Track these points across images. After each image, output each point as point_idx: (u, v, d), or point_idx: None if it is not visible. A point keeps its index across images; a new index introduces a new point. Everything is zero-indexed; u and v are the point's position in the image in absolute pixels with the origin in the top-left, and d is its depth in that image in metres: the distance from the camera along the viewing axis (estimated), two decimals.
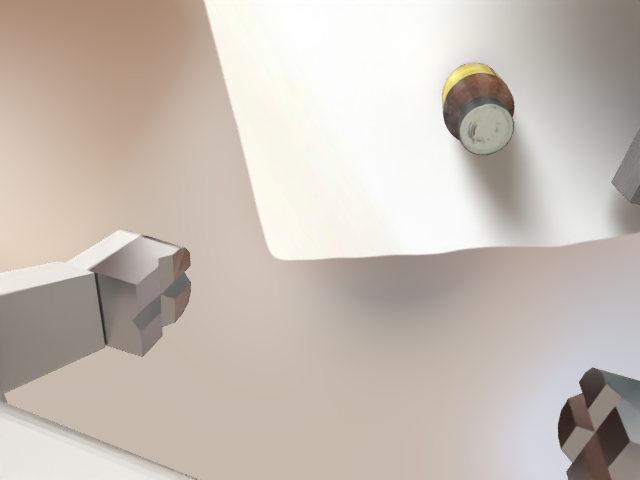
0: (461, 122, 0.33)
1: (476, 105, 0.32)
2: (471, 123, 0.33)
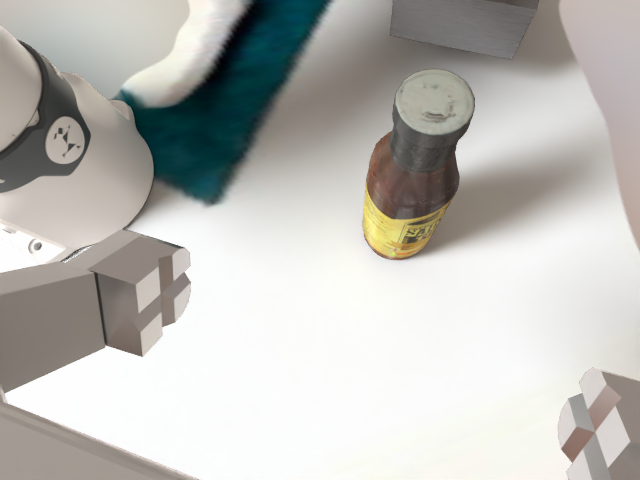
0: (421, 133, 0.21)
1: (397, 118, 0.21)
2: (424, 119, 0.21)
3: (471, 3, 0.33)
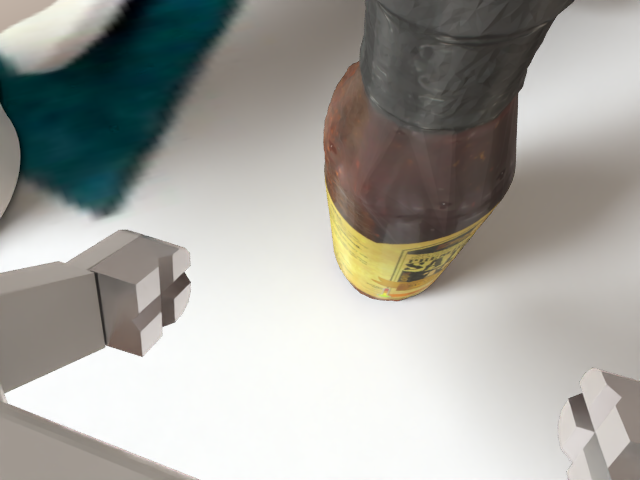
0: None
1: None
2: None
3: None
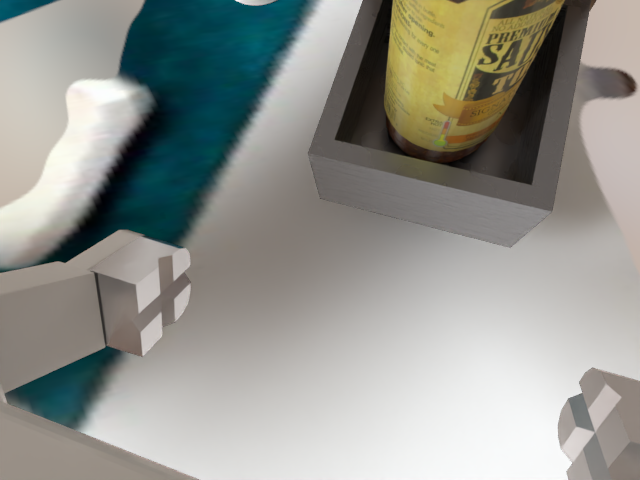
0: None
1: None
2: None
3: (437, 189, 0.19)
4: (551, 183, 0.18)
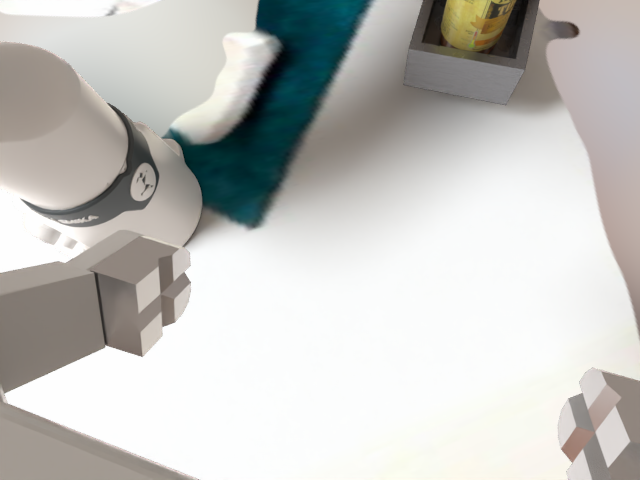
0: None
1: None
2: None
3: (471, 64, 0.41)
4: (524, 58, 0.40)
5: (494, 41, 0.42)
